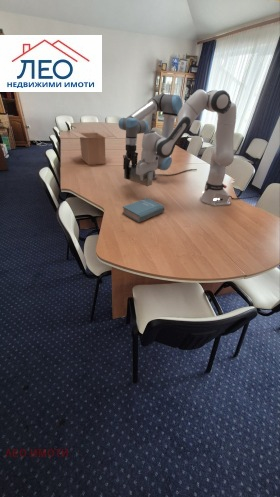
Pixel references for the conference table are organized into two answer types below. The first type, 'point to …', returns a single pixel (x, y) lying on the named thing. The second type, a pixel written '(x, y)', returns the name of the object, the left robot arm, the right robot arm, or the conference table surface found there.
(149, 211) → the book
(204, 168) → the conference table surface
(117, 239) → the conference table surface
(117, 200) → the conference table surface
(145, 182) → the bar
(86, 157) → the box
